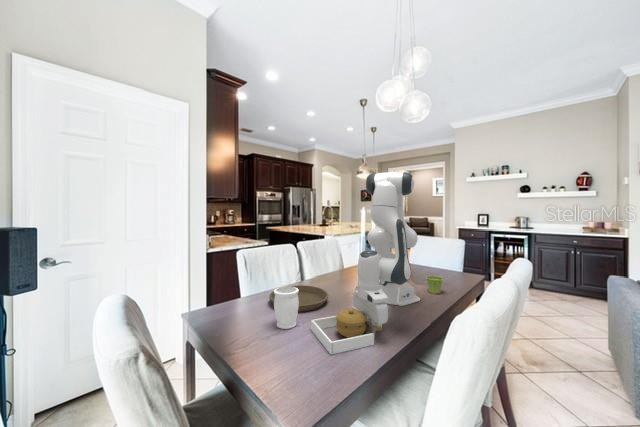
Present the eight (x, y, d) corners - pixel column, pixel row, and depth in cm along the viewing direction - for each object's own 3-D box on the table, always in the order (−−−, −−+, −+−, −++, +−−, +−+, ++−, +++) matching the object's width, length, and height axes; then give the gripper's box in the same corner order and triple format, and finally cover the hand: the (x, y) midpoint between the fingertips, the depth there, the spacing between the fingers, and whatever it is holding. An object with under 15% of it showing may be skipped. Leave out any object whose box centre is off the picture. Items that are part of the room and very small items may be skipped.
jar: (291, 332, 105) (291, 295, 105) (269, 328, 109) (269, 292, 108) (302, 321, 115) (302, 287, 115) (281, 318, 118) (281, 285, 118)
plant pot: (424, 293, 153) (424, 278, 153) (427, 288, 161) (428, 274, 160) (441, 296, 148) (441, 280, 147) (444, 291, 155) (444, 277, 155)
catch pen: (348, 322, 113) (348, 313, 113) (373, 344, 95) (374, 333, 95) (311, 329, 107) (311, 320, 107) (330, 354, 89) (330, 343, 89)
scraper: (371, 323, 113) (372, 312, 113) (388, 335, 102) (389, 324, 102) (356, 325, 110) (356, 314, 110) (372, 338, 99) (372, 326, 99)
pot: (334, 328, 109) (334, 304, 108) (362, 327, 109) (362, 303, 109) (337, 342, 97) (337, 315, 97) (369, 341, 97) (369, 315, 97)
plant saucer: (338, 308, 130) (338, 299, 130) (276, 318, 119) (276, 308, 119) (316, 290, 159) (316, 282, 159) (264, 296, 148) (264, 288, 147)
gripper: (349, 285, 114) (349, 317, 114) (376, 301, 95) (376, 338, 95) (362, 283, 116) (362, 314, 116) (390, 298, 97) (390, 335, 97)
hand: (368, 325), depth 106 cm, fingers closed on scraper, 3 cm apart
